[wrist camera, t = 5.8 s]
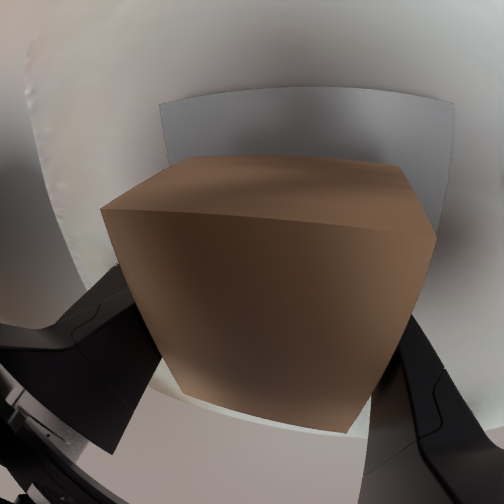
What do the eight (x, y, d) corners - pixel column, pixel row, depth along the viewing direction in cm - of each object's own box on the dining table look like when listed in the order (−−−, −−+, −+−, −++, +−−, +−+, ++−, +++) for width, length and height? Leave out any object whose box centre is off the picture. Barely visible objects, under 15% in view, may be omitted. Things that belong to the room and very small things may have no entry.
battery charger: (121, 292, 24) (45, 380, 15) (113, 261, 21) (23, 355, 12) (184, 321, 22) (111, 431, 13) (181, 290, 20) (91, 414, 11)
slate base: (438, 100, 8) (454, 103, 7) (399, 311, 15) (401, 337, 13) (182, 100, 12) (159, 104, 10) (216, 287, 18) (204, 307, 17)
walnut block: (398, 165, 6) (437, 237, 3) (358, 350, 11) (346, 433, 8) (188, 157, 9) (100, 208, 5) (221, 325, 13) (183, 393, 10)
